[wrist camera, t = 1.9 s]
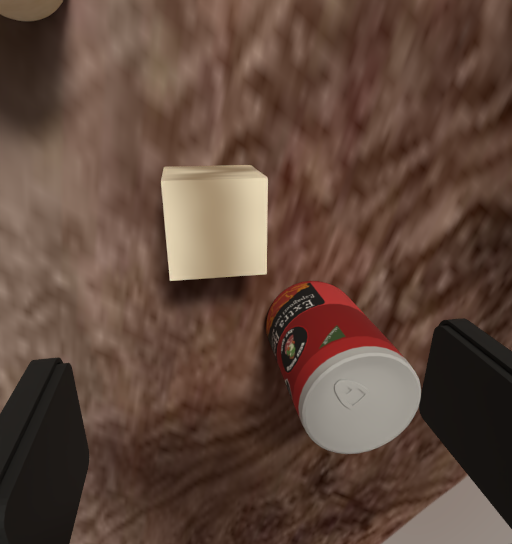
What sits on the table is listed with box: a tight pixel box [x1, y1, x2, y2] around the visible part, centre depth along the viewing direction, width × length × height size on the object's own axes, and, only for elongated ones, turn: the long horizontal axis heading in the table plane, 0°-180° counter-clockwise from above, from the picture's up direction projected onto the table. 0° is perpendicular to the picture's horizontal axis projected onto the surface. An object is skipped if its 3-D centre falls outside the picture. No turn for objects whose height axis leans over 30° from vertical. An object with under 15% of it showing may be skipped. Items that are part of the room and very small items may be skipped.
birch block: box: [161, 165, 268, 281], centre depth 26 cm, size 6×6×6 cm
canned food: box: [266, 281, 421, 454], centre depth 29 cm, size 8×8×11 cm
